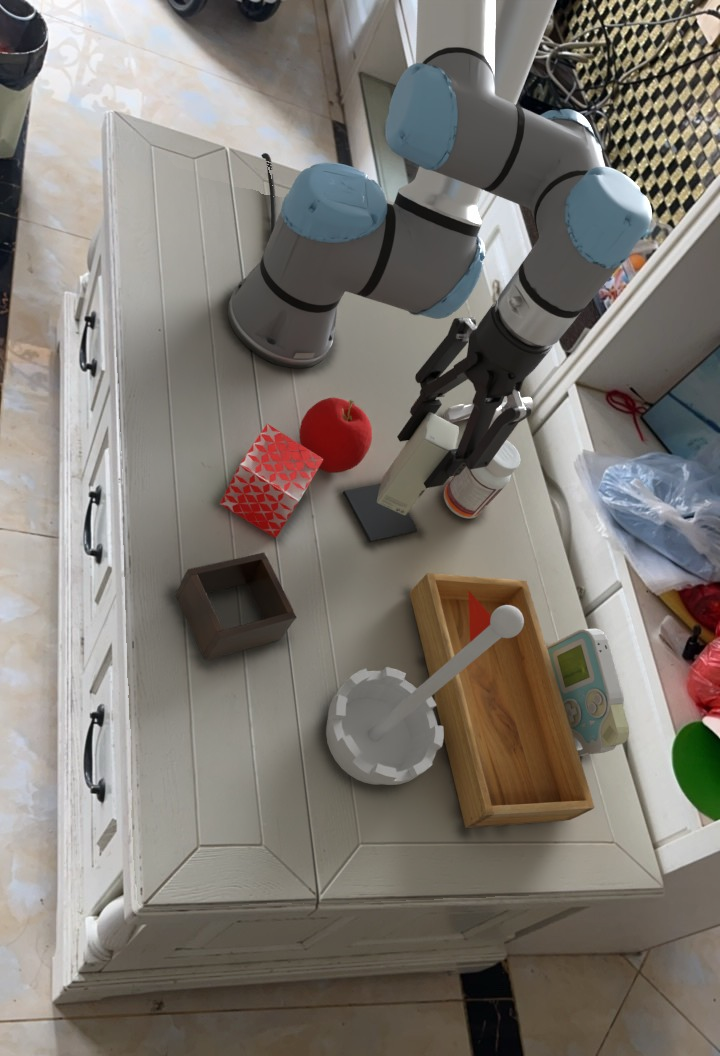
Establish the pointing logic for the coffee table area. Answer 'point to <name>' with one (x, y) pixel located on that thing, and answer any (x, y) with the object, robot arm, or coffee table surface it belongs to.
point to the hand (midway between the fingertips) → (420, 460)
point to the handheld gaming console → (590, 690)
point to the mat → (377, 515)
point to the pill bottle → (481, 483)
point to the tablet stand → (464, 412)
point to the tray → (500, 708)
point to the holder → (228, 575)
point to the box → (417, 463)
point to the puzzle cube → (271, 480)
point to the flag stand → (403, 708)
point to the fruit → (336, 434)
